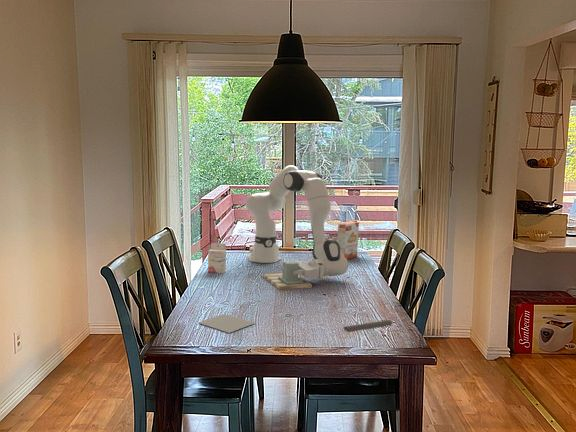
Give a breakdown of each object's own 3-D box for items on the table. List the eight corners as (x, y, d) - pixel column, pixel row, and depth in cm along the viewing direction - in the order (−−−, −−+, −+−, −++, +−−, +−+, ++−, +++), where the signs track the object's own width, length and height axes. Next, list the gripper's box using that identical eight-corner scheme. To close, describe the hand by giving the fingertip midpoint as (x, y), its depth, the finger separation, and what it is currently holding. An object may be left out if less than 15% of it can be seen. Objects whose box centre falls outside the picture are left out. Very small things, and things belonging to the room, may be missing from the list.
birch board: (263, 276, 283) (263, 273, 283) (292, 274, 289) (292, 271, 289) (279, 290, 259) (279, 286, 259) (311, 287, 265) (311, 284, 264)
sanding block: (278, 278, 274) (278, 260, 272) (293, 277, 276) (294, 259, 275) (286, 285, 262) (286, 265, 261) (302, 283, 265) (302, 264, 264)
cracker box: (345, 260, 323) (346, 224, 320) (336, 258, 327) (337, 223, 324) (358, 256, 334) (359, 221, 331) (349, 255, 337) (350, 220, 334)
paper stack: (240, 310, 230) (240, 308, 230) (287, 323, 215) (287, 321, 215) (197, 324, 212) (197, 322, 212) (246, 340, 197) (246, 338, 197)
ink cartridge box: (207, 272, 290) (207, 244, 288) (210, 270, 295) (210, 242, 292) (224, 273, 289) (224, 245, 287) (226, 271, 294) (226, 243, 292)
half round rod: (392, 326, 214) (393, 321, 214) (348, 333, 206) (349, 328, 205) (386, 322, 218) (386, 318, 217) (343, 329, 210) (343, 325, 209)
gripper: (308, 257, 282) (282, 259, 277) (324, 266, 263) (297, 268, 258) (308, 269, 283) (282, 271, 278) (324, 279, 264) (296, 281, 259)
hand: (289, 270), depth 268 cm, fingers open, 8 cm apart
